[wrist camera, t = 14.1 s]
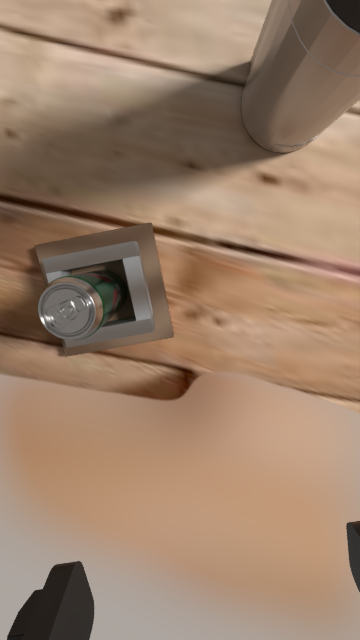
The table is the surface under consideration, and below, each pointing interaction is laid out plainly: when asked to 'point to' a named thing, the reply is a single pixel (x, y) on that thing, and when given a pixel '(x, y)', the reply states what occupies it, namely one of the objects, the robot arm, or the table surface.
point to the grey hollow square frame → (135, 270)
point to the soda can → (81, 303)
